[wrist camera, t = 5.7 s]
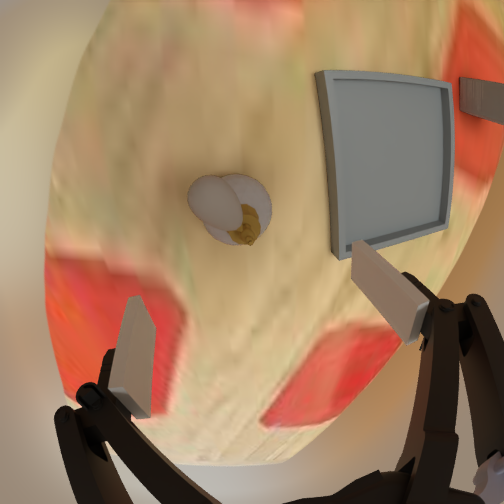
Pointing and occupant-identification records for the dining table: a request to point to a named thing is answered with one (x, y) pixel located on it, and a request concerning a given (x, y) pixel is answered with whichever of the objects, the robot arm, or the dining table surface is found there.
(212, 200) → the perfume bottle
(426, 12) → the dining table surface
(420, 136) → the tray
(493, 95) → the skincare box
